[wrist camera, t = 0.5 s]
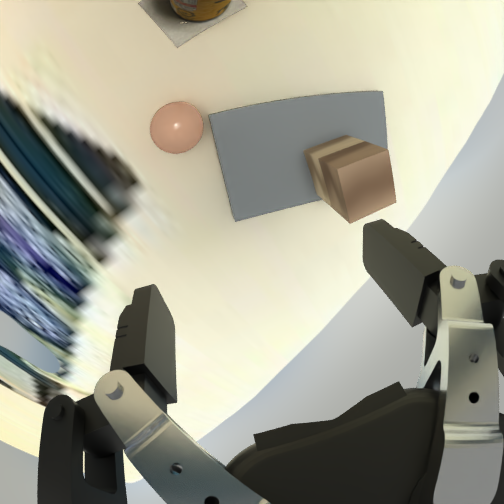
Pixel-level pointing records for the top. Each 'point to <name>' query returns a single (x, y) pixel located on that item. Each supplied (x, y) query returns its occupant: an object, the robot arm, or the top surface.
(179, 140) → the pink cylinder
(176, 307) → the top surface
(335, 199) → the block top
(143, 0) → the condiment
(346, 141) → the block base
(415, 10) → the top surface
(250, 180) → the board
